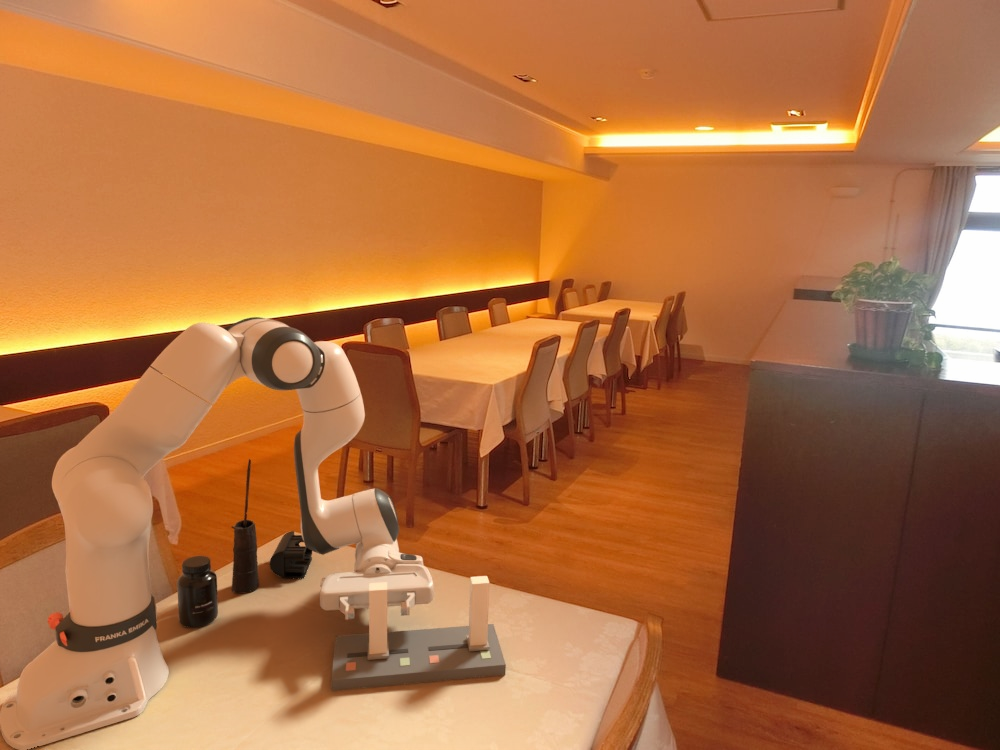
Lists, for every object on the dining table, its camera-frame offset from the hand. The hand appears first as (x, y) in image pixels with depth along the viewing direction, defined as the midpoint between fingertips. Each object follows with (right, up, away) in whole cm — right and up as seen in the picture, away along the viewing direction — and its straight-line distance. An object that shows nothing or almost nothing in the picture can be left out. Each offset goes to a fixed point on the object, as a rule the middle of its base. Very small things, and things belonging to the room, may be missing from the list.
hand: (377, 613), depth 110 cm
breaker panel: (+7, -9, +3) cm, 12 cm away
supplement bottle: (-37, -6, +13) cm, 39 cm away
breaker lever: (+17, -7, +5) cm, 19 cm away
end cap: (-25, -2, +32) cm, 41 cm away
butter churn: (-33, -4, +23) cm, 40 cm away
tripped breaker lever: (0, -7, +1) cm, 7 cm away
